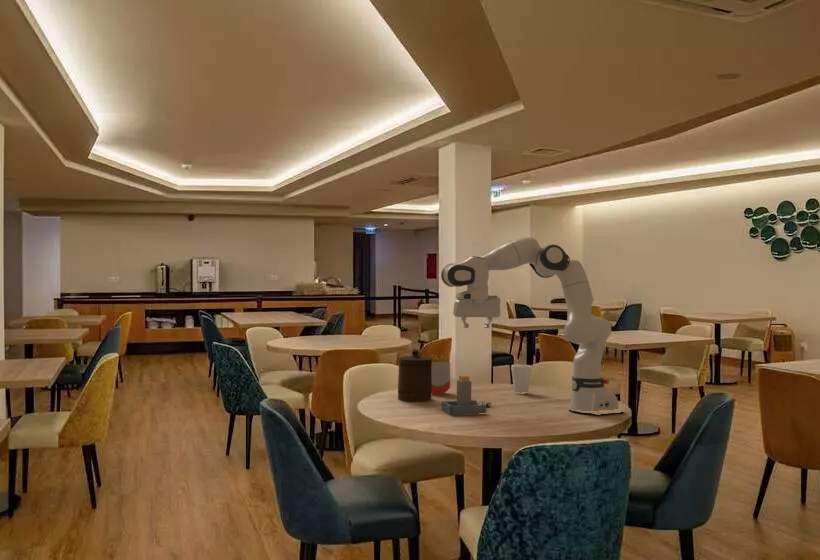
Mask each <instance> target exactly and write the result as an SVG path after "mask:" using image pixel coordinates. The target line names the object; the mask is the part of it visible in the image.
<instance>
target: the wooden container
mask: <svg viewBox="0 0 820 560" xmlns="http://www.w3.org/2000/svg"><path fill="white" fill-rule="evenodd" d="M431 366H432V359H431V358H430V356H429V357H428V356H421V355H420V350H419V349H416V348H414V349H412V350H411V354H410V356H408V355H407V356H399V357H398V376H397V378H398V379H397V398H398V400H400V401H403V402H412V403H413V402H416V403H418V402H419V403H420V402H428V401H431V400H432V394H431V390H432V376H431Z"/></svg>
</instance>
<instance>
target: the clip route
mask: <svg viewBox="0 0 820 560" xmlns="http://www.w3.org/2000/svg"><path fill="white" fill-rule="evenodd" d="M477 405H480V402H477ZM481 405H486V406H493V405H492V401H488V402H486V401H485V400H481Z"/></svg>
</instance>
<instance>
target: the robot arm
mask: <svg viewBox="0 0 820 560" xmlns="http://www.w3.org/2000/svg"><path fill="white" fill-rule="evenodd" d="M527 264H529V266H530V267H531V268H532V270H533V271H534V273H535V274H536V275H537V276H539V278H543V279H546V278H547V279H548V278H552V277H553V276H556V277H558V279H559V281H560V283H561V288H562V292H563V296H564V300H565V304H566V311H567V315H566V316H567V317H566V318H567V319H566V324H565V325H564V328H563V333H564V336H565V338H566V340H567V341H568V342H570V343H573V344H574V345H575V344H576V345H578V349H577V351H576V354H575V355H574V357H573V365H572V367H573V370H572V372H573V374H572V377H571V389H572V390H571V398H570V404H569V407H568V409H569V408H571V409H574V410H581V411H599V410H614V409H619V408H620V406H619V401H618V397H617V396H616V395H615V394H613V393H612V392H611V390H610V389H608V388H606V387H605V385H610V380H609V379H607V378H602V358H603V354H604V351H605V346H606V344H607V340H608V338H610V336H611V333H612V326H611V324H610V322H609V321H608V320H607V319H605V318H603V317H599V316H593V315H592V305H593V303H594V297H593V292H592V290H591V289H592V288H591V285H590V282H589V279H588V275H587V273H586V271H585V269H584V267H583V265H582V263H581V262H580V261H579V260H577V259H571V258H570V256H569V255H568V254H567V252H565V250H564V249H563V248H562V247H561V246H560V245H558V244H549V245H546V246H545V247H543V248H542V247H541V246H540V244H539V241H538V240H536V239H535V238H534V237H522V238H519V239H515V240H511V241H509V242H506V243H503V244H502V245H500V246H497V248H494V249H493V250H492V251H490V252H489V253H486V254H484V255H483V256H481V257H480V256H475V255H471V256H470V257H468V258H467V259H464V260H462V261H460V262H457V263H448V264H446V265H445V266H444V267H443V268H442V269H441V274H440V277H441V281H442V282H443V283H444V284H445V285H446V286H447V287H450V288H451V287H452V288H454V287H455V288H457V287H459V288H461V287H464V286H467V287H466V290H465V291H462V292H458V293H456V294H455V297H456V299H455V300H454V304H453V316H454V317H455V318H461V321H462V323H463V328H464V329H469V326H470V325H469V323H468V322H466V320H467V318H486V320H487V322H486V323H484V328H485V329H489V328H490V324H491V322H492V321H493V318H499V317H500V316H501V298H500V296H498V295H492V294H490V295H489V284H488V282H489V278H490V277H489V275H490V273H489V272H490V271H506V270H507V271H508V270H512V269H516V268H519V267H521V266H523V265H527Z"/></svg>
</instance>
